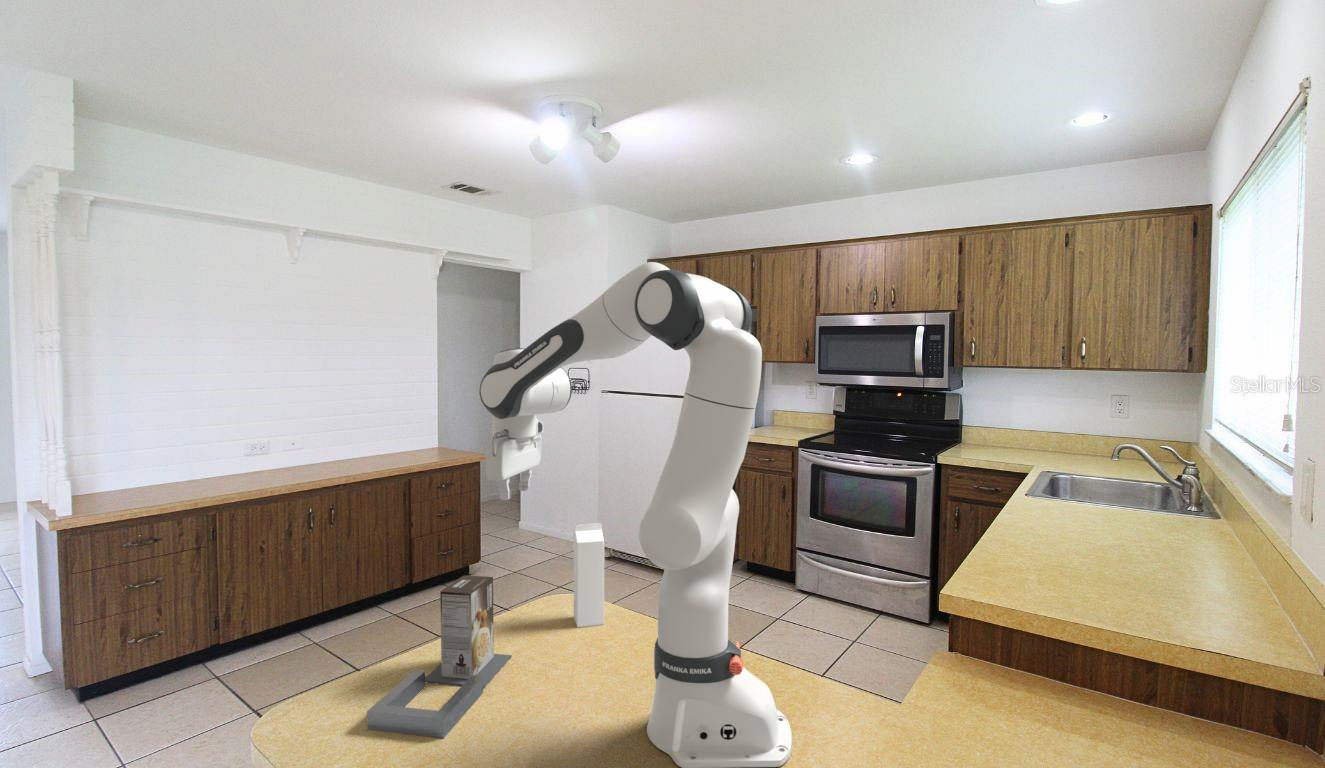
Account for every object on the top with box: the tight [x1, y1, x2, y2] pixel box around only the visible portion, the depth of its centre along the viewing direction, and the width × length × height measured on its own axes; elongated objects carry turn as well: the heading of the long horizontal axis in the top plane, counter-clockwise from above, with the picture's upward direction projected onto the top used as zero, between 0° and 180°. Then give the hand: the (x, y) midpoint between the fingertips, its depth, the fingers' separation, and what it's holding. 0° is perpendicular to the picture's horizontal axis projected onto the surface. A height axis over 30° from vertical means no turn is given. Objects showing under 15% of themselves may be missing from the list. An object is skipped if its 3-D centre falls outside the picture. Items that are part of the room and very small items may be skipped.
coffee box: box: [439, 575, 495, 679], centre depth 118 cm, size 9×6×16 cm
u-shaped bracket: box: [366, 669, 484, 739], centre depth 104 cm, size 13×14×3 cm
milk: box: [573, 522, 605, 628], centre depth 140 cm, size 6×6×22 cm
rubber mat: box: [425, 653, 513, 689], centre depth 118 cm, size 12×12×1 cm
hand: (515, 494), depth 129 cm, fingers open, 8 cm apart
